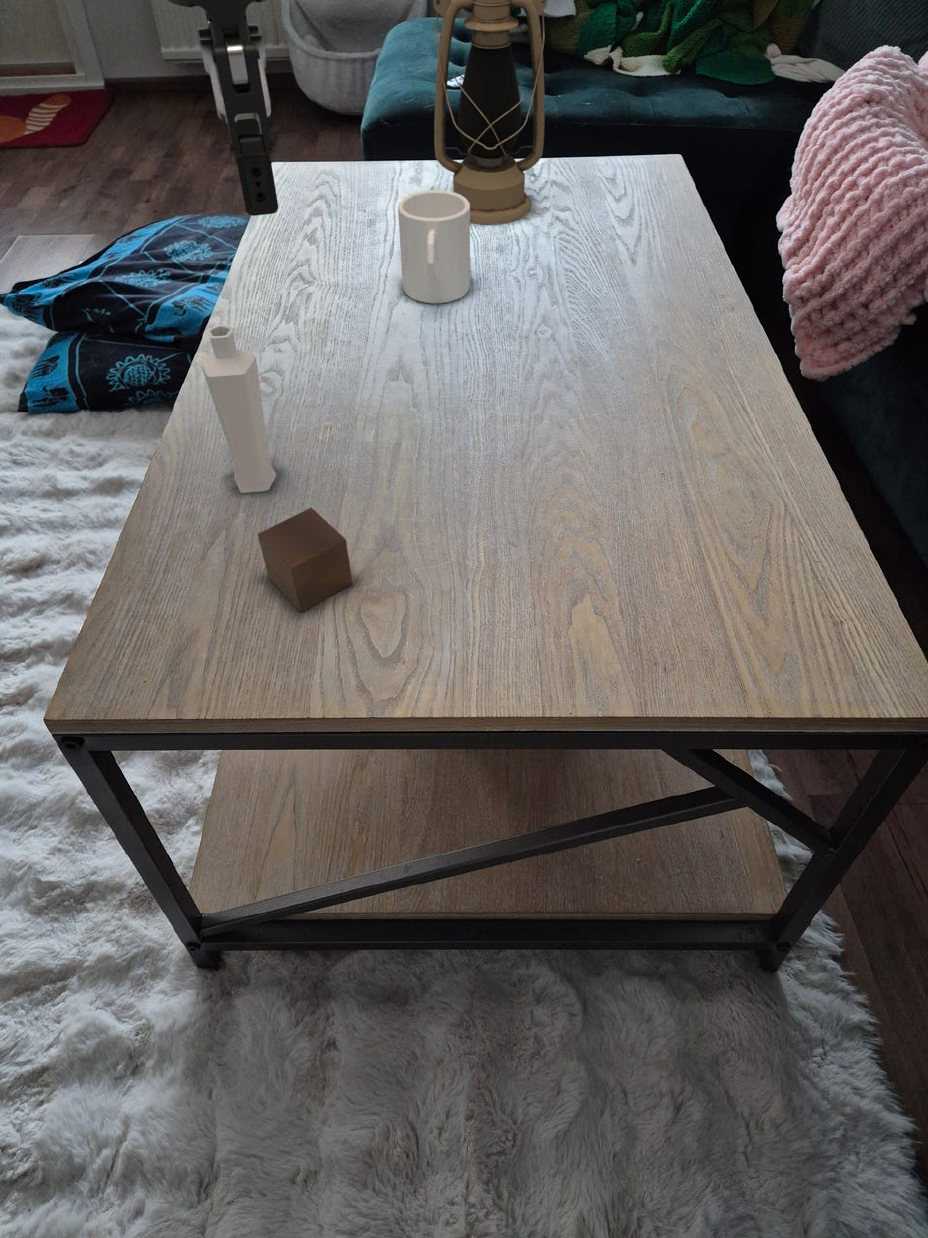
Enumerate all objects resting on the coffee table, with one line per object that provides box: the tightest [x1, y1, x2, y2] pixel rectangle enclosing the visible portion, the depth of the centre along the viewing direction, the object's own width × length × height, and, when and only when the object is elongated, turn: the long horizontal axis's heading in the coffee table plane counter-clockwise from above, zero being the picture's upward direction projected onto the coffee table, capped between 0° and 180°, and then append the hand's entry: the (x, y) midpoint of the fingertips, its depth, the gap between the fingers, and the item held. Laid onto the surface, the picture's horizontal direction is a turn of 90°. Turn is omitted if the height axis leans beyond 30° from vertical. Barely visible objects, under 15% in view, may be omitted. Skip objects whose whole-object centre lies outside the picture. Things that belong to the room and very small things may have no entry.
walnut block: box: [257, 507, 353, 613], centre depth 68 cm, size 5×5×5 cm
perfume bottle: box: [199, 323, 277, 494], centre depth 73 cm, size 5×4×15 cm
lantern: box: [433, 0, 548, 225], centre depth 108 cm, size 15×12×30 cm
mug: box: [397, 189, 471, 304], centre depth 98 cm, size 8×12×10 cm
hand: (257, 188), depth 61 cm, fingers open, 8 cm apart
